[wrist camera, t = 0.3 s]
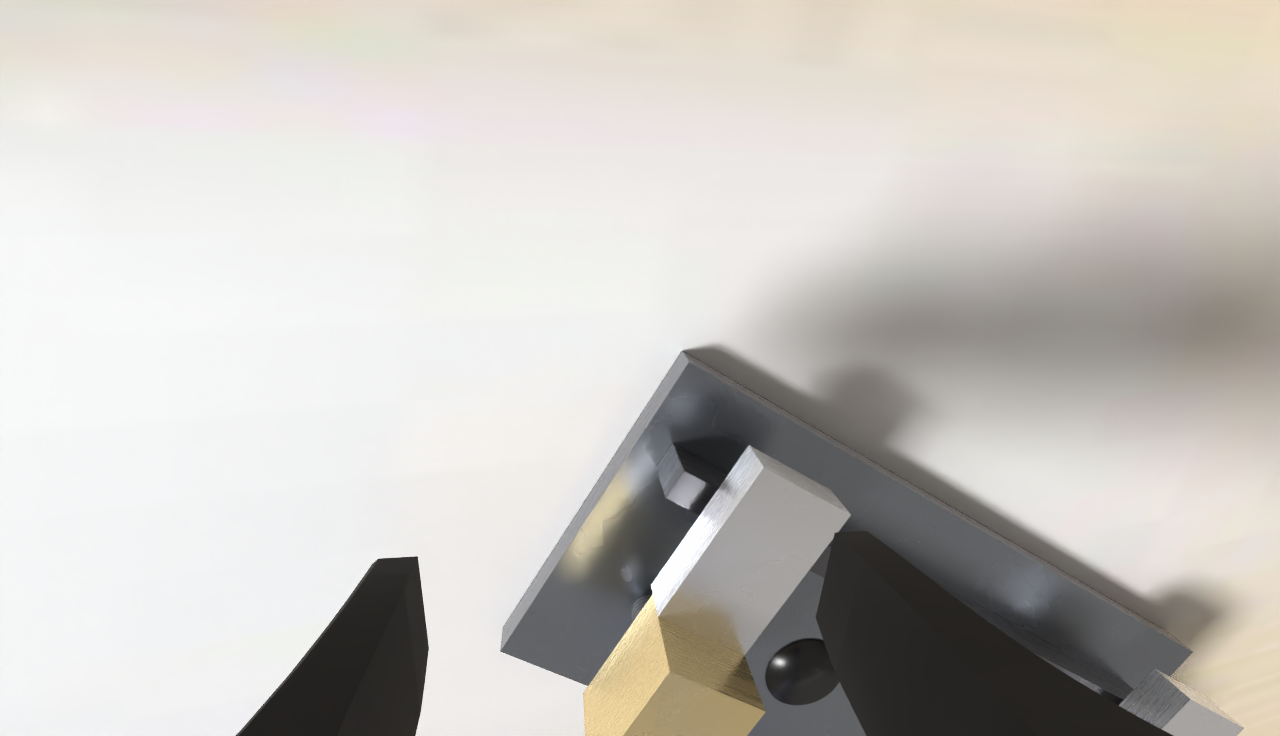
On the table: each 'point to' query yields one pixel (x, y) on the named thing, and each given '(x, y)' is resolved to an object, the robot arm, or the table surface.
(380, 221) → the table surface
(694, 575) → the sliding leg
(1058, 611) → the plate
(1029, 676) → the robot arm
